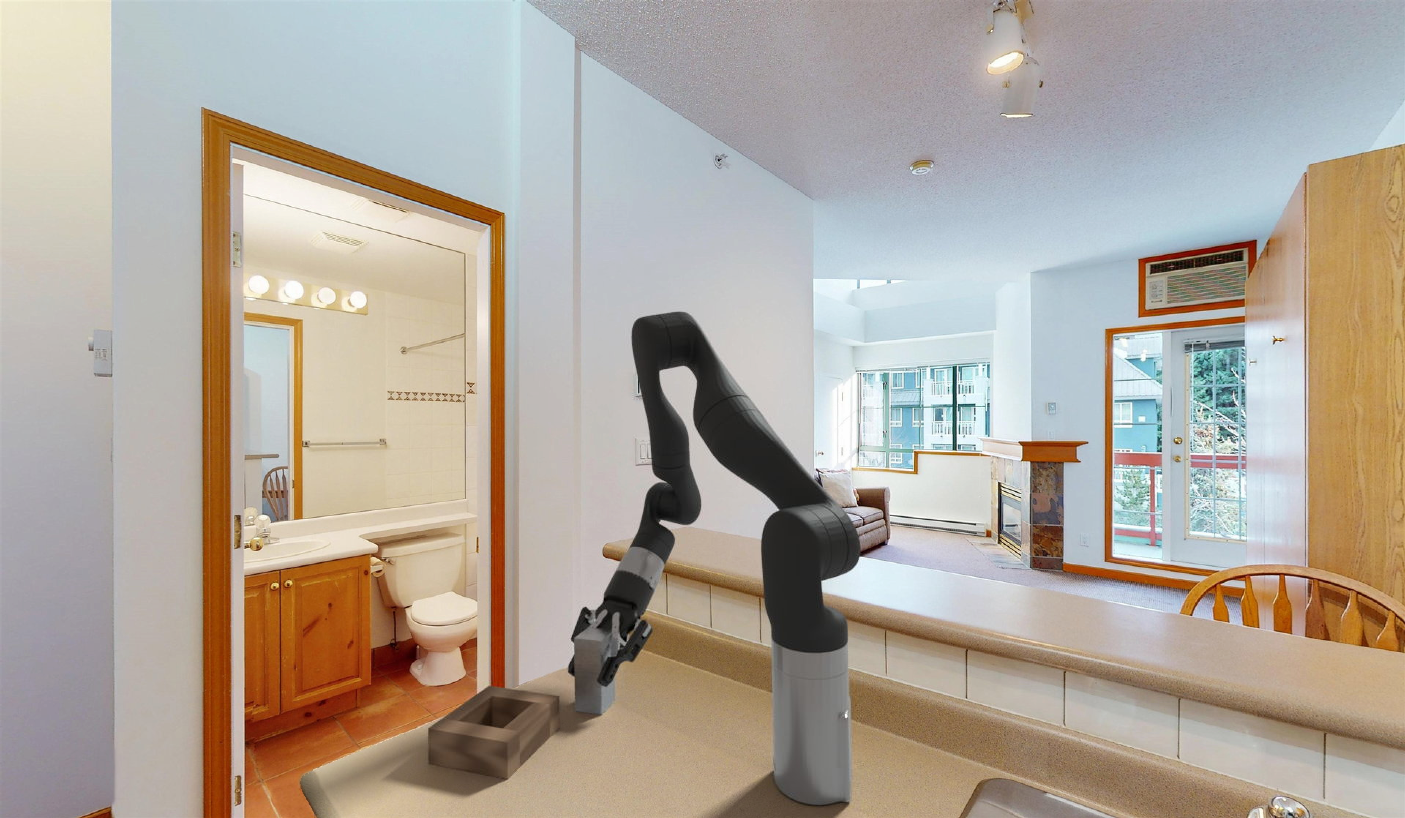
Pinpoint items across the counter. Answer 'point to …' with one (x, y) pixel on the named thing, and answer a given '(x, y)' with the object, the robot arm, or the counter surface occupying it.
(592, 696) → the grey square pillar
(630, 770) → the counter surface
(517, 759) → the well block
